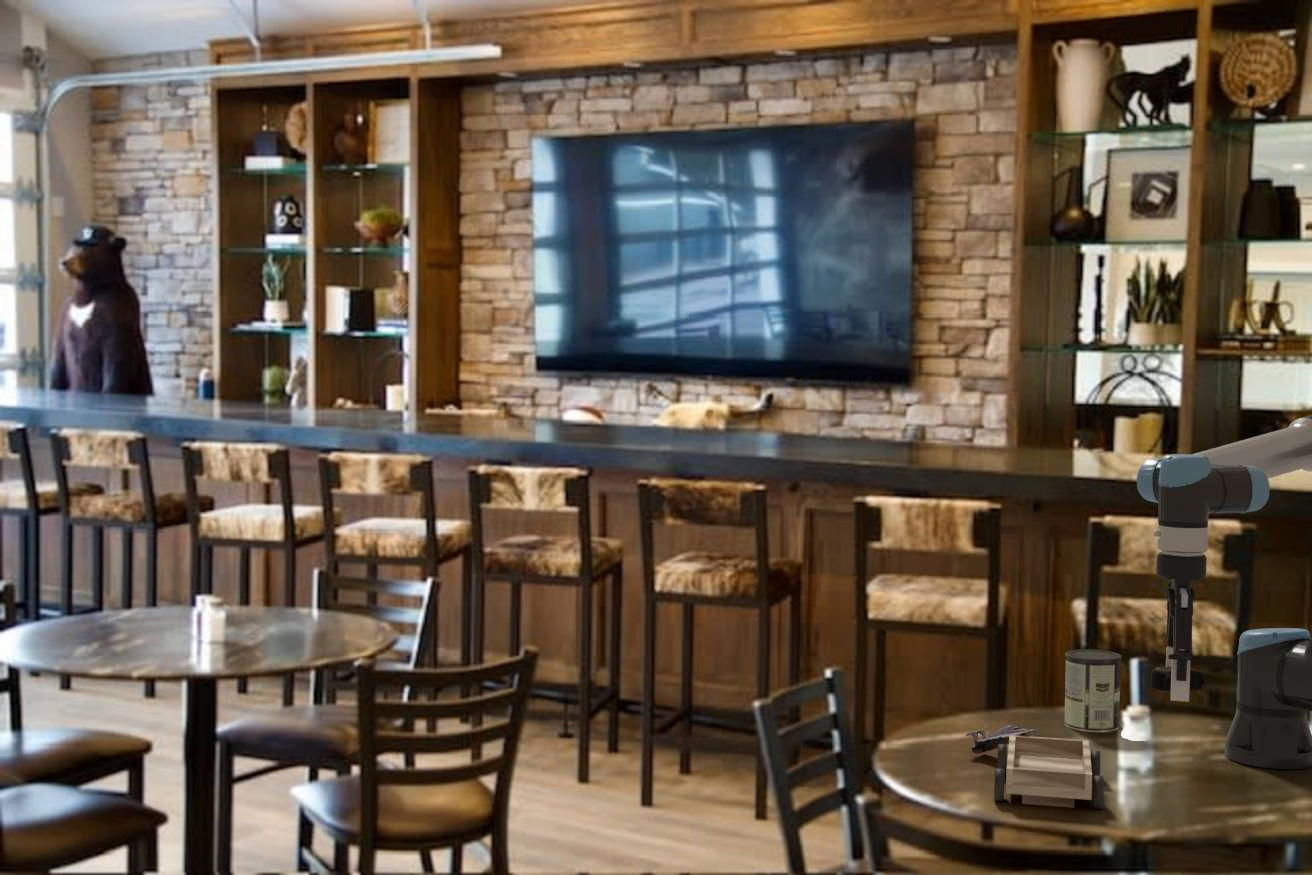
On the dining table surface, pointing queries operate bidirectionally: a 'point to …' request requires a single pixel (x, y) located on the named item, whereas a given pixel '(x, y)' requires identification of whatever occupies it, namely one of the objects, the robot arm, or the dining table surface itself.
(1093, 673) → the coffee can
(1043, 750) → the cart
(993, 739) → the toy race car
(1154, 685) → the tape measure
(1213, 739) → the dining table surface
